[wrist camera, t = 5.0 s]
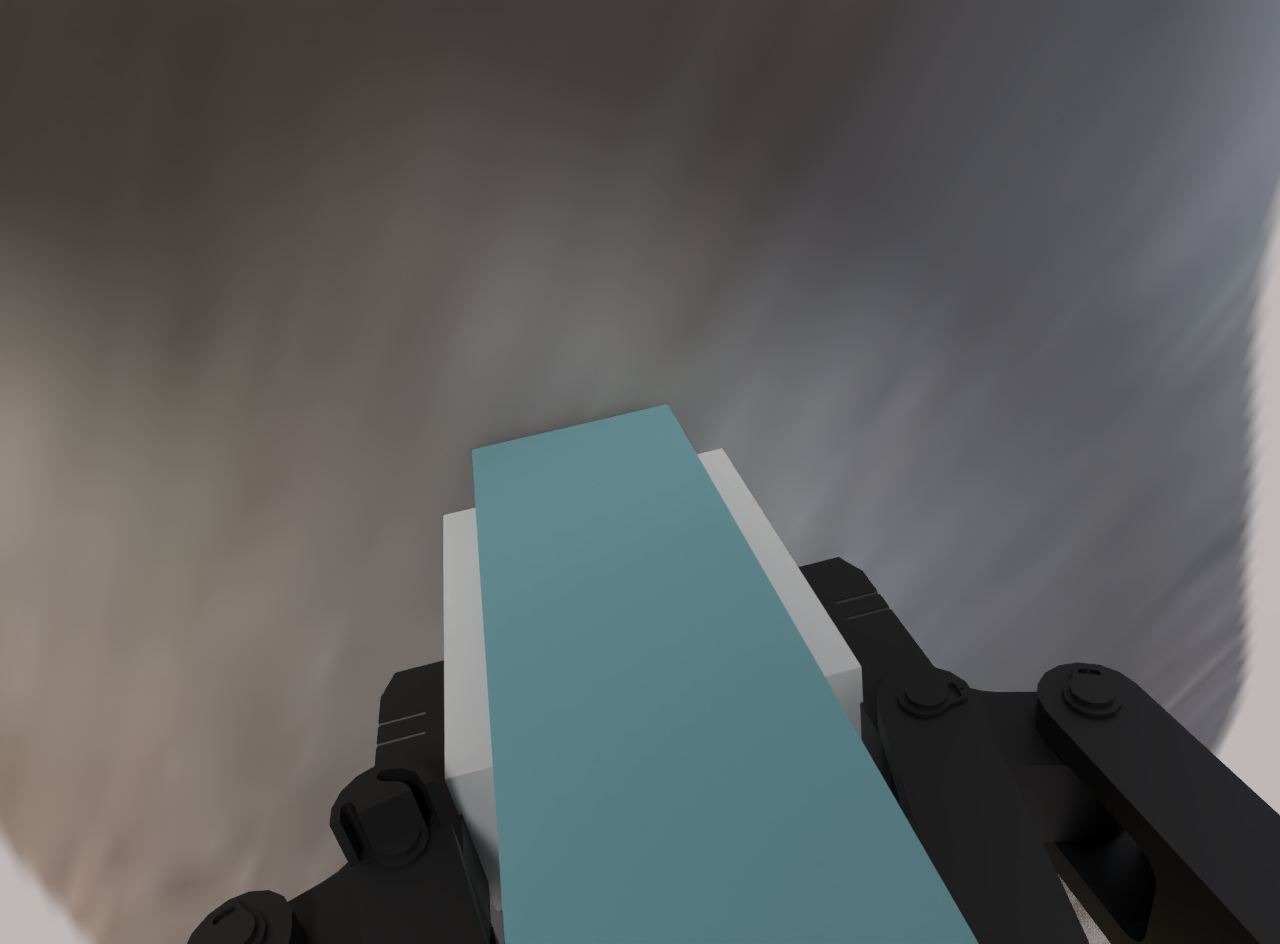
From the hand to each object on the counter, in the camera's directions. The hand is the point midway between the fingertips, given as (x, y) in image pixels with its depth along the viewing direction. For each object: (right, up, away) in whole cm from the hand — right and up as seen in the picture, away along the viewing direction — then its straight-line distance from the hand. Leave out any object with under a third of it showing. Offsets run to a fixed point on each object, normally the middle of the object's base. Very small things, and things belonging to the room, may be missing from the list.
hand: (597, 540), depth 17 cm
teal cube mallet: (+1, -9, +6) cm, 11 cm away
